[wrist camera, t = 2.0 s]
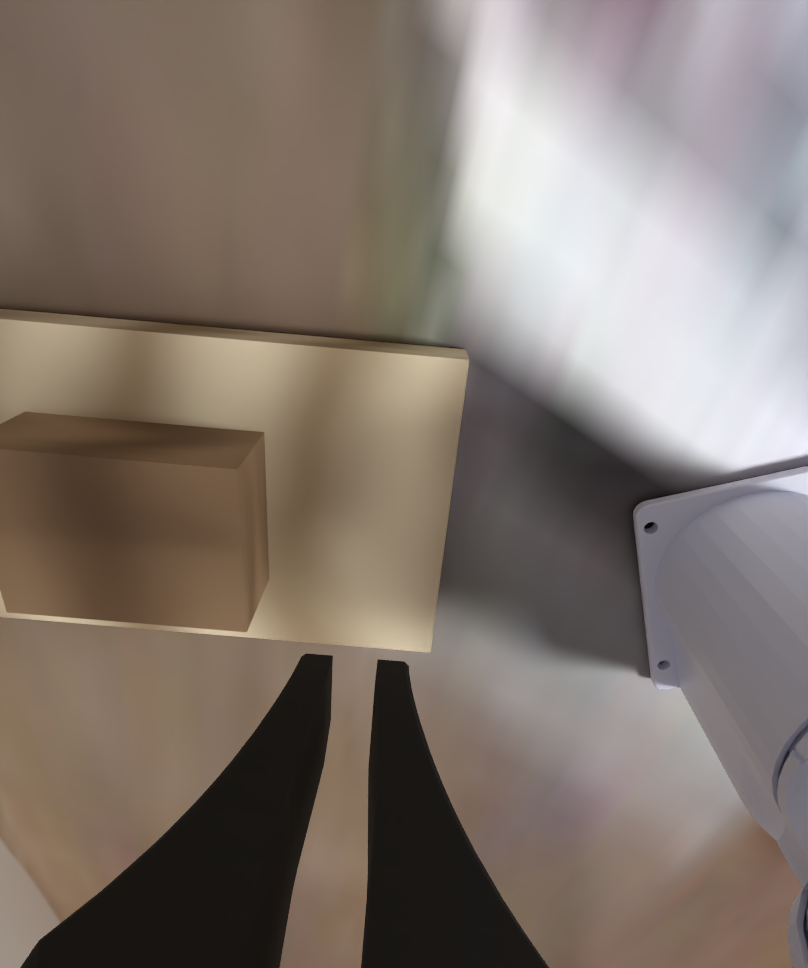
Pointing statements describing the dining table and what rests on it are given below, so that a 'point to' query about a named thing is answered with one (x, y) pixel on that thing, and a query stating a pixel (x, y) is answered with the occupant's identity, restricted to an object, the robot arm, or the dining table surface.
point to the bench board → (282, 453)
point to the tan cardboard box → (132, 521)
